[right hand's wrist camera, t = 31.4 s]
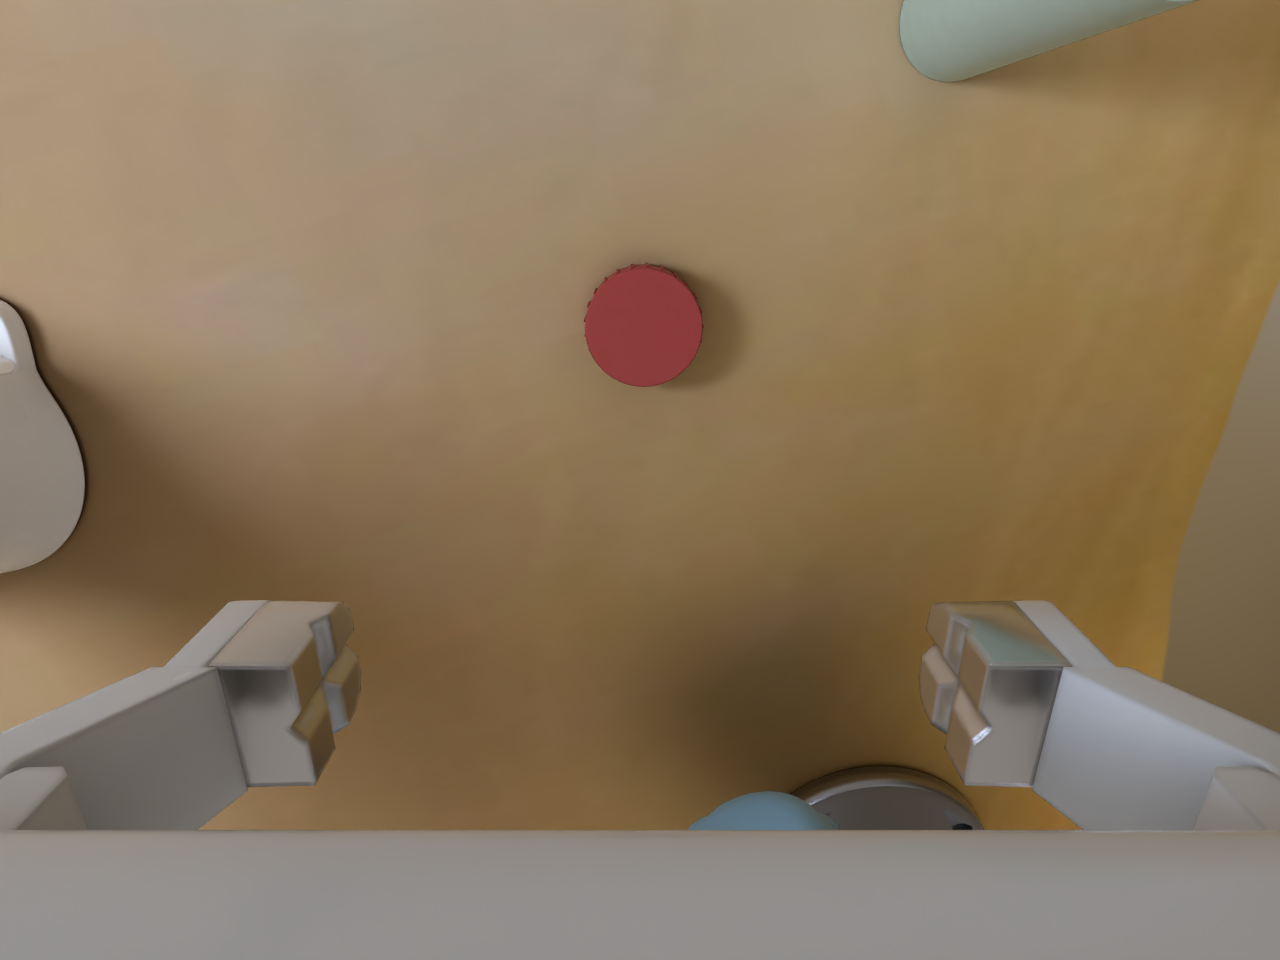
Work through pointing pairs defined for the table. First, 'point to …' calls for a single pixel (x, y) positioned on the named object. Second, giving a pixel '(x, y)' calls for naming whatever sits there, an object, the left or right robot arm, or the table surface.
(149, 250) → the table surface
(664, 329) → the lid
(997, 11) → the jar
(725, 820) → the left robot arm
